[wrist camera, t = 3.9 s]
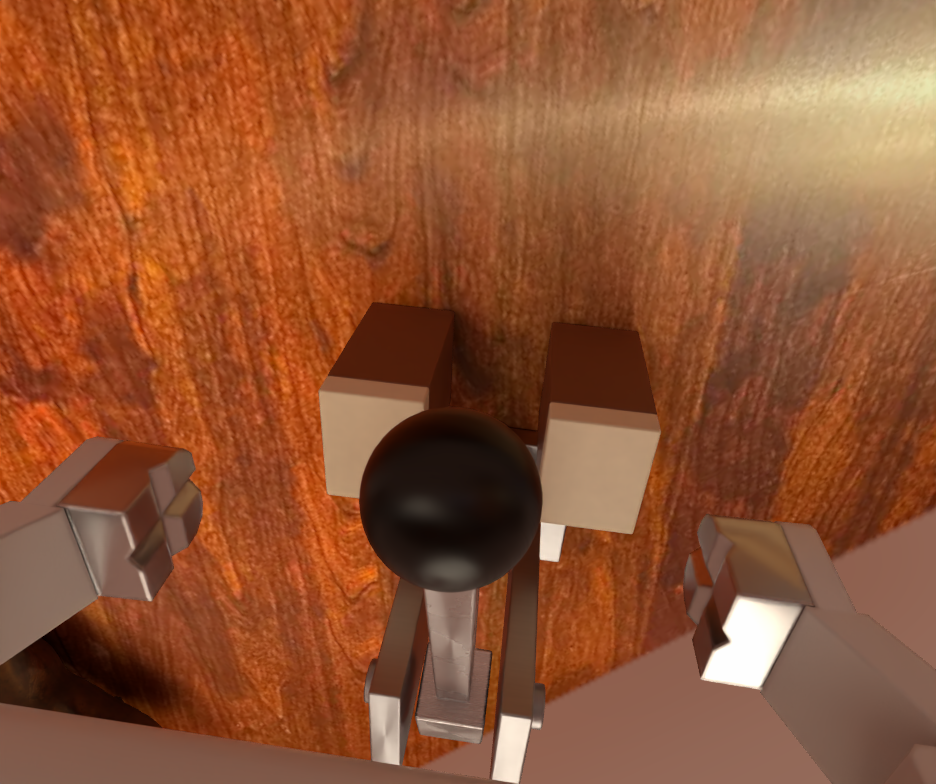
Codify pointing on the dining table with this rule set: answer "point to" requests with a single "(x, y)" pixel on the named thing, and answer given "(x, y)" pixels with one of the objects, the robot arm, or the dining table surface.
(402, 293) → the dining table surface
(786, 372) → the dining table surface
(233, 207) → the dining table surface
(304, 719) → the dining table surface
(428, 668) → the black ball knob lever
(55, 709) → the dark brown bag
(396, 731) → the bracket
